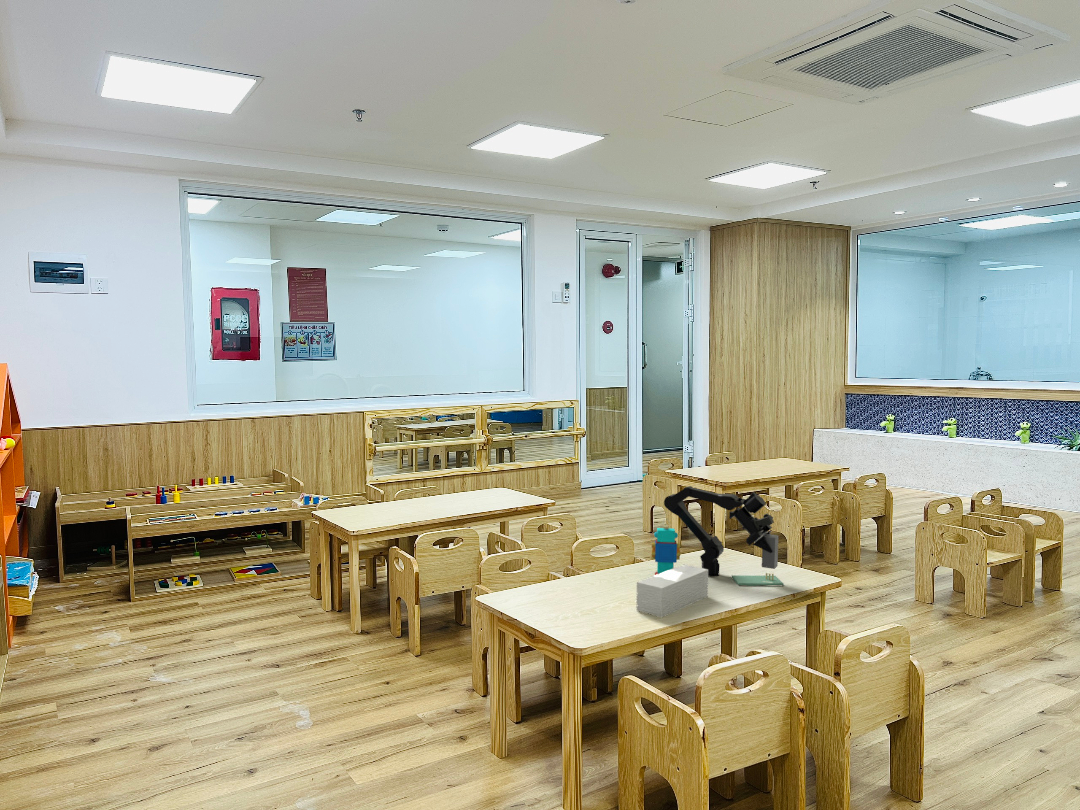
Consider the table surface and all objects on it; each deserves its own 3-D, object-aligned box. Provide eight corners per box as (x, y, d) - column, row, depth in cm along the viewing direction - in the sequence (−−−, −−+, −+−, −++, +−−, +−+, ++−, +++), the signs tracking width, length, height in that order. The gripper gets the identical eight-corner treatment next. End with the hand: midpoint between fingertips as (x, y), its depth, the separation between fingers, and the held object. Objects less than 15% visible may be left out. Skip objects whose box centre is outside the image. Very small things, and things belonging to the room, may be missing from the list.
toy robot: (678, 577, 324) (680, 518, 322) (679, 582, 318) (681, 521, 316) (650, 576, 325) (651, 517, 324) (651, 581, 319) (652, 520, 318)
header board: (738, 585, 314) (738, 577, 314) (731, 577, 325) (731, 569, 325) (783, 586, 314) (783, 577, 314) (775, 578, 325) (775, 569, 325)
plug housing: (761, 567, 316) (762, 536, 315) (765, 564, 320) (766, 533, 320) (774, 568, 314) (775, 538, 313) (777, 566, 318) (778, 535, 317)
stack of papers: (661, 618, 276) (662, 588, 275) (636, 611, 283) (636, 582, 283) (707, 597, 300) (708, 569, 299) (683, 591, 307) (683, 564, 306)
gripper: (755, 512, 309) (782, 543, 305) (767, 504, 325) (793, 534, 321) (734, 529, 314) (761, 560, 309) (748, 520, 330) (773, 550, 325)
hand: (773, 550), depth 316 cm, fingers closed on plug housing, 5 cm apart
